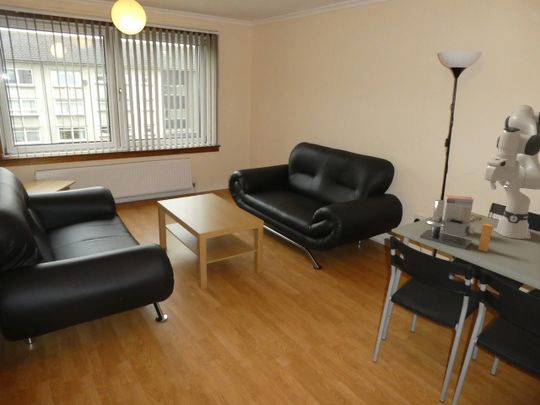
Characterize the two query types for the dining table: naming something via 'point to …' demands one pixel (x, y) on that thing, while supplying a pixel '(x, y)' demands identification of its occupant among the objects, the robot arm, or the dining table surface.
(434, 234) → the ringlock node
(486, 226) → the orange rectangular bar
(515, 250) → the dining table surface
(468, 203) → the cracker box
